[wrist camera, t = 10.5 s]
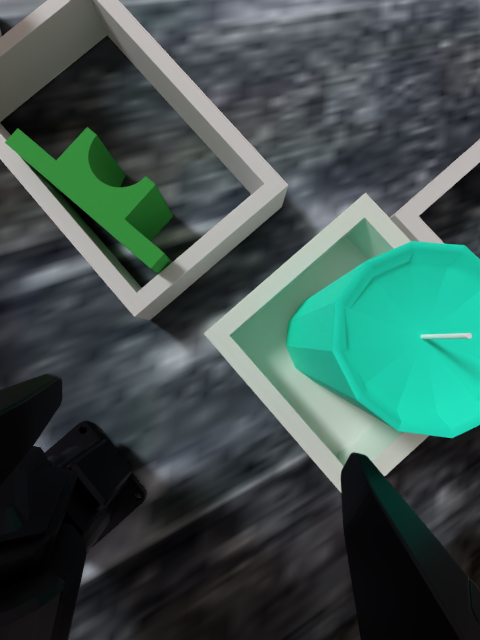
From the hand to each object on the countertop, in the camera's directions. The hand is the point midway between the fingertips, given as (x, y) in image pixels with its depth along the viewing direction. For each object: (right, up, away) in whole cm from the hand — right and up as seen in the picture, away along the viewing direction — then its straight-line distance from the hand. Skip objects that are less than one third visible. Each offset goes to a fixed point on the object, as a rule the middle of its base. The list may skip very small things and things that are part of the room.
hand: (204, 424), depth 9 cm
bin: (+8, +2, +11) cm, 14 cm away
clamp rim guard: (-7, +14, +12) cm, 20 cm away
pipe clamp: (-7, +10, +12) cm, 18 cm away
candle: (+7, +2, +11) cm, 13 cm away
